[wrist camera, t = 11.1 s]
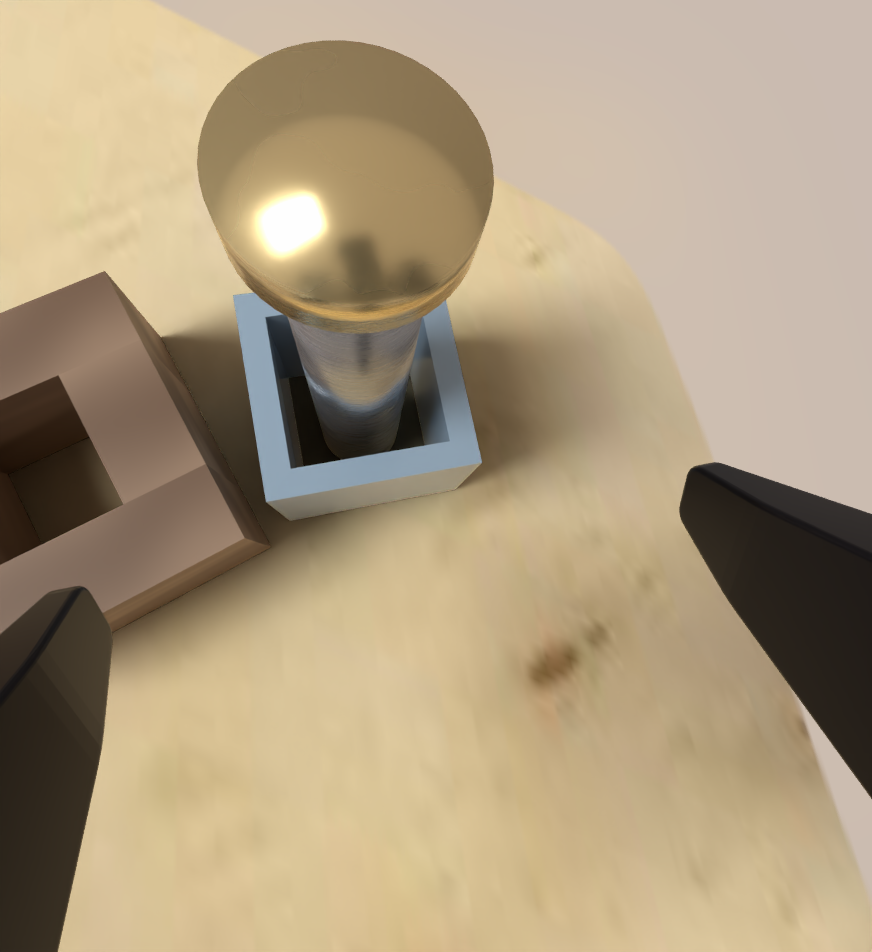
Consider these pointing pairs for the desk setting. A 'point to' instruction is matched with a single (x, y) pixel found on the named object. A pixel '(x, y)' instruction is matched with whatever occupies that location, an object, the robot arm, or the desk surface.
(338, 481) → the holder
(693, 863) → the desk surface
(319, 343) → the pin
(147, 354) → the hitch block
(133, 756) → the desk surface
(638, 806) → the desk surface
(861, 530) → the robot arm
